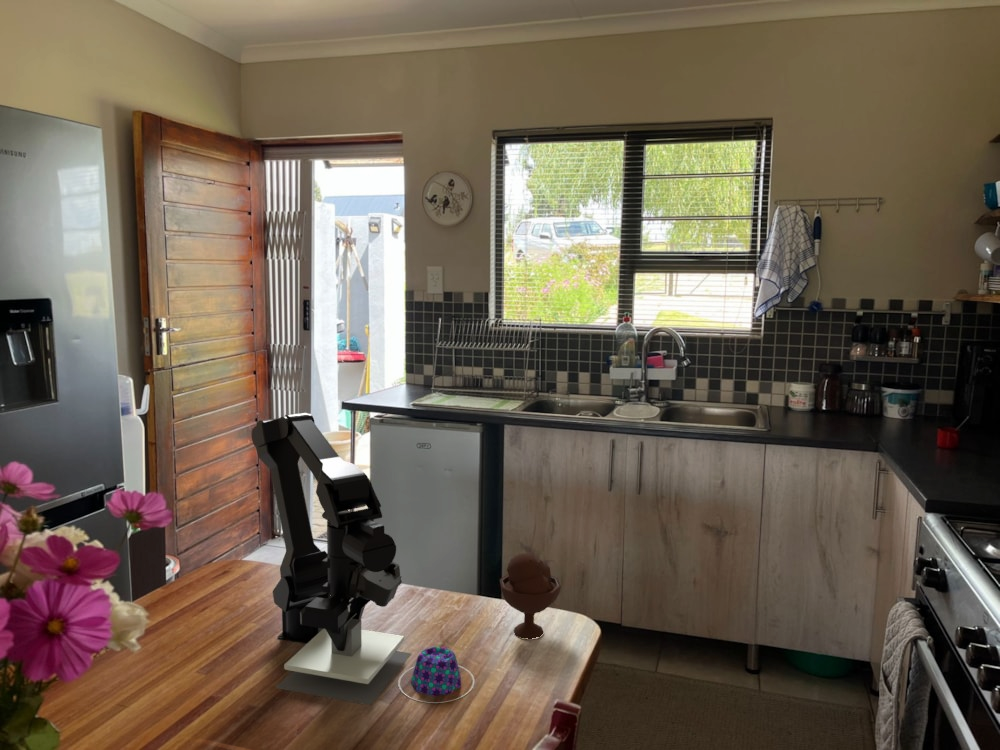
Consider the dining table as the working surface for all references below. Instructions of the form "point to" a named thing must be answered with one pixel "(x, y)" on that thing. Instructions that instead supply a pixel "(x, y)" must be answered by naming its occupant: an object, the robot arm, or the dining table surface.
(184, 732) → the dining table surface
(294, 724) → the dining table surface
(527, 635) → the ice cream bowl
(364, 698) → the mat
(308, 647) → the lid
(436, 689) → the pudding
